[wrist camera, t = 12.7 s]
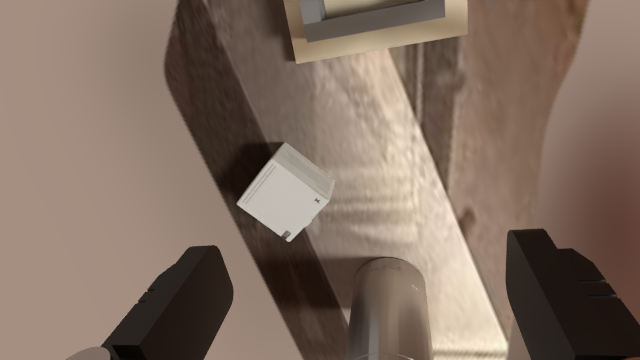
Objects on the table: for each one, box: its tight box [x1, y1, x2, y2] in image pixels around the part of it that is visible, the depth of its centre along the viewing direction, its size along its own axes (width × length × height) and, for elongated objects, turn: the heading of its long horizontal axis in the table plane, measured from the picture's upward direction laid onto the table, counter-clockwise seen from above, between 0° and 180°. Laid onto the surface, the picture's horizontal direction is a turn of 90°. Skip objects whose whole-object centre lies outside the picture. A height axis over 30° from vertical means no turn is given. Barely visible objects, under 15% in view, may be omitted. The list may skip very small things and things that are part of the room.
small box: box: [237, 142, 335, 242], centre depth 42 cm, size 8×8×5 cm
